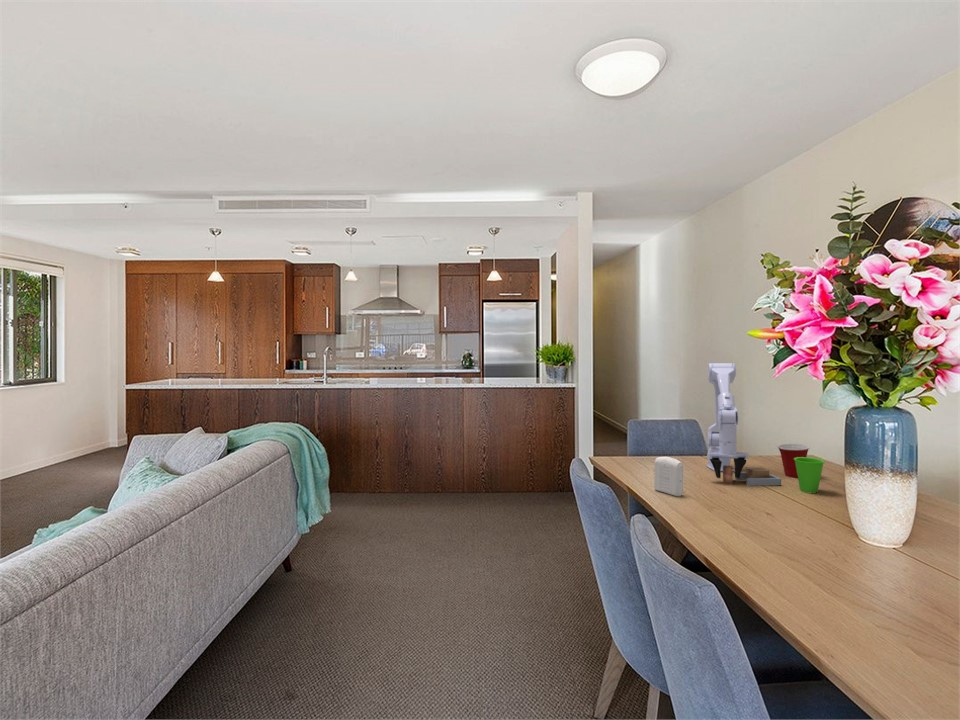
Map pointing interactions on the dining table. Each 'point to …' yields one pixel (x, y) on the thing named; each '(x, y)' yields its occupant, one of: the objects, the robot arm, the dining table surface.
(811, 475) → the cup
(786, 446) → the plastic cup
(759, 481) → the grey u-shaped bracket
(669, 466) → the photo printer
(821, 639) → the dining table surface
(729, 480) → the tethered block
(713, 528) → the dining table surface
